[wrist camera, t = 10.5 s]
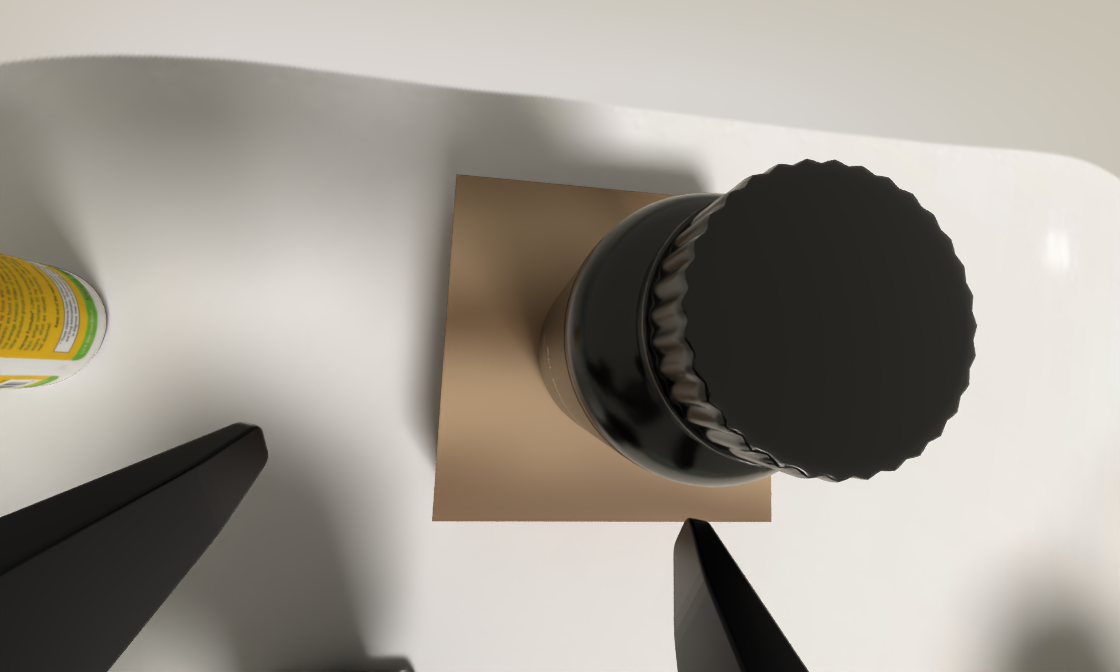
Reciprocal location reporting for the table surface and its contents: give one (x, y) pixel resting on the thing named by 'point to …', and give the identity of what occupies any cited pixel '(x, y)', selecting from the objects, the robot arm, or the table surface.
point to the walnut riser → (538, 372)
